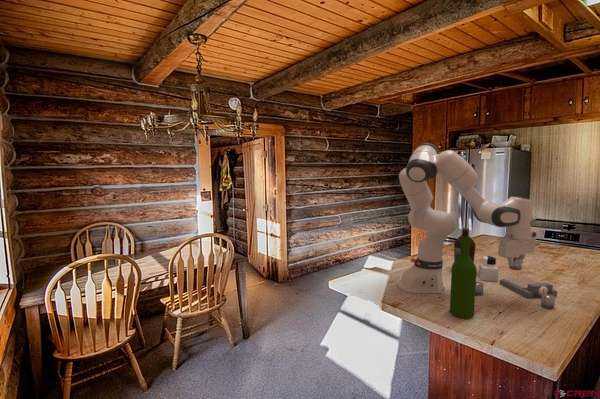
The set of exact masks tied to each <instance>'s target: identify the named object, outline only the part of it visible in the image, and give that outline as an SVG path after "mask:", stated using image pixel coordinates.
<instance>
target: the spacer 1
mask: <svg viewBox="0 0 600 399" xmlns="http://www.w3.org/2000/svg"><path fill="white" fill-rule="evenodd" d="M484 286H485V285H484V283H483V282H480V281H476V289H475V296H483V295H484Z"/></svg>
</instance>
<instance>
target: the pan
mask: <svg viewBox="0 0 600 399" xmlns="http://www.w3.org/2000/svg"><path fill="white" fill-rule="evenodd" d="M502 279H503V280H504V281H506V282H508V283H510V284H512V285H515V286H517V287H519V288H521V289H528V284H536V283H540V282H539V281H536V280H534V279H532V278H530V277H528V276H522V277H521V276H519V277H504V278H502Z"/></svg>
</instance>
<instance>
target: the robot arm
mask: <svg viewBox="0 0 600 399" xmlns="http://www.w3.org/2000/svg"><path fill="white" fill-rule="evenodd" d="M437 174H438V175H440V176H441V177H442V178H443V179H444V180H445V181H446V182H447V183H448V184H449V185H450V186H451V187H452V188H453V189H454V190H456V191H457V192H458V193H459V195H460V196H461V197H462V198H463V199H464V200H465V201H466V203H468V205H469V206H470V208H471V210H472V212H473V215H474V217H475V219H476V220H477V221H478V222H480V223H483V224H484V223H485V224H487V225H492V226H494V227H497V228H505V235H504V236H503V237H502V238H501V240H500V241H499V245H498V249H497V255H498V257H501V258H504V259H505V258H506V259H507V261H508V263H507V265H508V266H509V265H510V266H514V263H515V262H513V258H514V256H517V257H521V258H522V264H523V263H524V259H525V257H526V254H531V253H534V252H535V250H536V244H537V237H538V232H536V231H533V230H531V229H532V226H531V221H532V218H533V204H532V201H531V199H529V198H527V197H521V196H516V195H512V196H509V198H508V199H506V200H504V201H502V202H499V203H496V202H493V201H489V200H486V199H485V198H484V197H483V196H482V195H481V193H480V192H479V191H478V190H477V189H476V188H475V186H476V185H477V183H478V180H479V175H478V173H477V172H476V170H475V168H474V167H473V166H472V165H471V164H470V163H469V162H468V161H467V160H466V159H464V157H462V156H461V155H460V154H458V153H457V152H455V151H454V150H452V149H446V150H444V151H442V152H440V153H439V150H438V147H437V146H436V145H435V144H433V143H430V142H423V143H421V144H419V145H418V146H416V148H414V151H413V152H412V154H411V156H410V157H409V160H408V163H407V164H406V167H405V168H403V169H402V170H401V171H400V172H399V174H398V179H399V184H400V186H401V190H402V191H403V193H404V196H405V197H406V199H407V202H408V204H409V207H410V211H409V213H408V217H407V221H408V223H409V224H410V226H413V227H414V228H416V229H418V230H422V231H426V235H425V236H424V238H423V239H421V240H419V242H418V245H417V247H418V248H417V249H418V250H417V258H414V257H411V258H410V262H411V263H414V264H413V265H412V266H411V267H409V268H407V270H405V271H403V273H402V274H401V279H399V280H397V281H396V285H397V287H398V288H399V289H400V290H402V291H404V292H405V293H408V294H441V293H442V291H444V289H445V286H444V282H443V276H442V275H443V272H442V270H443V266H444V265H443V248H444V243H445V242H446V239H447V238H448V237H449V235H451V234H452V233H454V232H455V231H456V228H457V226H458V222H457V221H458V220H457V219H456V216H454V215H453V214H452V213H449V212H447V211H443V210H437V209H433V208H432V207H431V203H432V202H433V199H434V196H433V193H432V191H431V189H430V187H429V184H428V182H427V180H430V179H433V178H436V176H437Z"/></svg>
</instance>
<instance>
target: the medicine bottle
mask: <svg viewBox="0 0 600 399" xmlns="http://www.w3.org/2000/svg"><path fill="white" fill-rule="evenodd" d="M481 260H482V263H479V267H478V268H479V269H478V276H479V278H480V279H481V280H482V282H483V281H484V282H496V283H498V282H499V281H498V280H499V268H498V267H497V266H496V265H497V264H496V263H497V259H496V258H495V257H494V256H491V255H484V256H482V259H481Z"/></svg>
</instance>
